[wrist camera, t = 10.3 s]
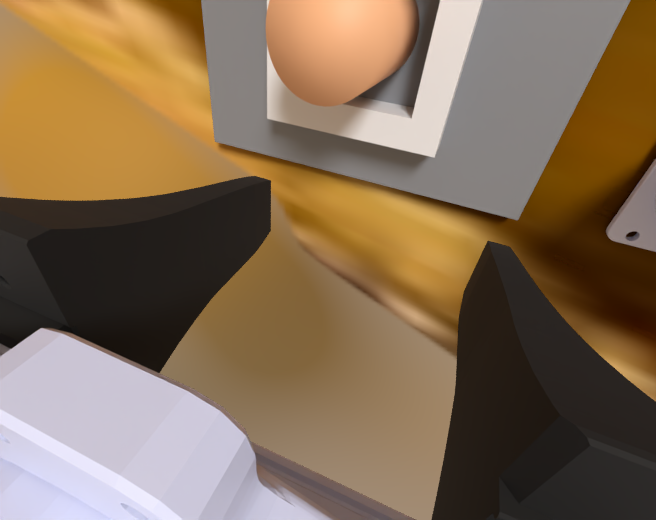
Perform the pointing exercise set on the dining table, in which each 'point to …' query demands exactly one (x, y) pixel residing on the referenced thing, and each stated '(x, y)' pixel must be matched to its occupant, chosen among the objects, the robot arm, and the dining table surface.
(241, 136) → the dock board
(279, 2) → the peach rounded egg part
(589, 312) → the dining table surface
